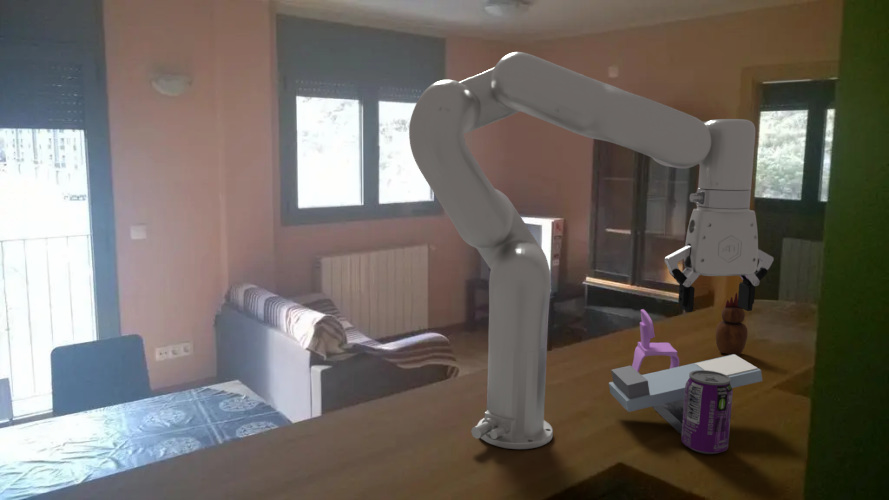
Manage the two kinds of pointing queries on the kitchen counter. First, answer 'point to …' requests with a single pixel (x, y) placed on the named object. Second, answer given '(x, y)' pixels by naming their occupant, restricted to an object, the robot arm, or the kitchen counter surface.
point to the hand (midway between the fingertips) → (715, 309)
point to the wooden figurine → (731, 329)
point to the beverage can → (707, 412)
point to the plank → (674, 381)
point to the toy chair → (651, 344)
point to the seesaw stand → (672, 413)
